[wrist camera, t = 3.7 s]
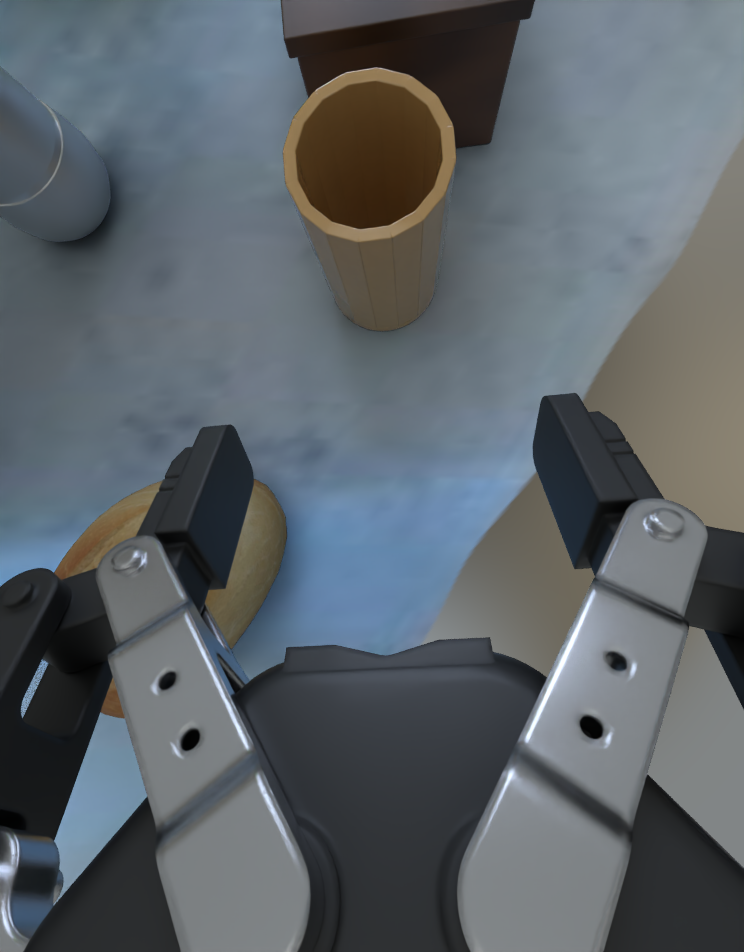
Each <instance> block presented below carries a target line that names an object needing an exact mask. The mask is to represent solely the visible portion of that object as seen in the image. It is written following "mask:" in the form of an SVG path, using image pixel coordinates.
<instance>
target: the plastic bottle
mask: <svg viewBox="0 0 744 952" xmlns="http://www.w3.org/2000/svg"><path fill="white" fill-rule="evenodd" d="M110 197H111V192H110V183H109V176H108V172H107V169H106V166H105V164H104V163H103V161H102V159H101V157H100V156H99V154H98V153H97V152H96V150H95V149H94V147H93V146H92V145H91V143H90V142H89V140H88V139H87V138H86V137H85V135H84V134H83V133H82V132H81V131H80V130H79V129H77V128H76V127H75V126H74V125H73V124H71V123H70V122H69V121H68V120H67V119H65V118H64V117H63V116H62V115H60V114H59V113H58V112H56V111H55V110H54V109H52V108H51V107H49V106H48V105H46V104H45V103H44V102H42V101H41V100H39V99H37V98H36V97H35V96H34V95H33V94H32V93H31V92H29V91H28V90H27V89H26V88H25V87H24V86H23V85H21V84H20V83H19V82H18V81H17V80H16V79H15V78H13V77H12V76H11V75H10V74H9V73H8V72H7V71H5V70H4V69H3V68H2V67H1V66H0V216H1V217H2V218H3V219H5V220H6V221H7V222H8V223H10V224H11V225H12V226H14V227H15V228H18V229H20V230H22V231H24V232H27V233H29V234H31V235H34V236H36V237H38V238H41V239H43V240H47V241H51V242H65V241H73V240H77V239H80V238H83V237H85V236H87V235H88V234H90V233H91V232H93V231H94V230H95V229H96V228H97V227H98V226H99V225H100V223H101V222H102V221H103V219H104V218H105V215H106V213H107V211H108V208H109V204H110Z"/></svg>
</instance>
